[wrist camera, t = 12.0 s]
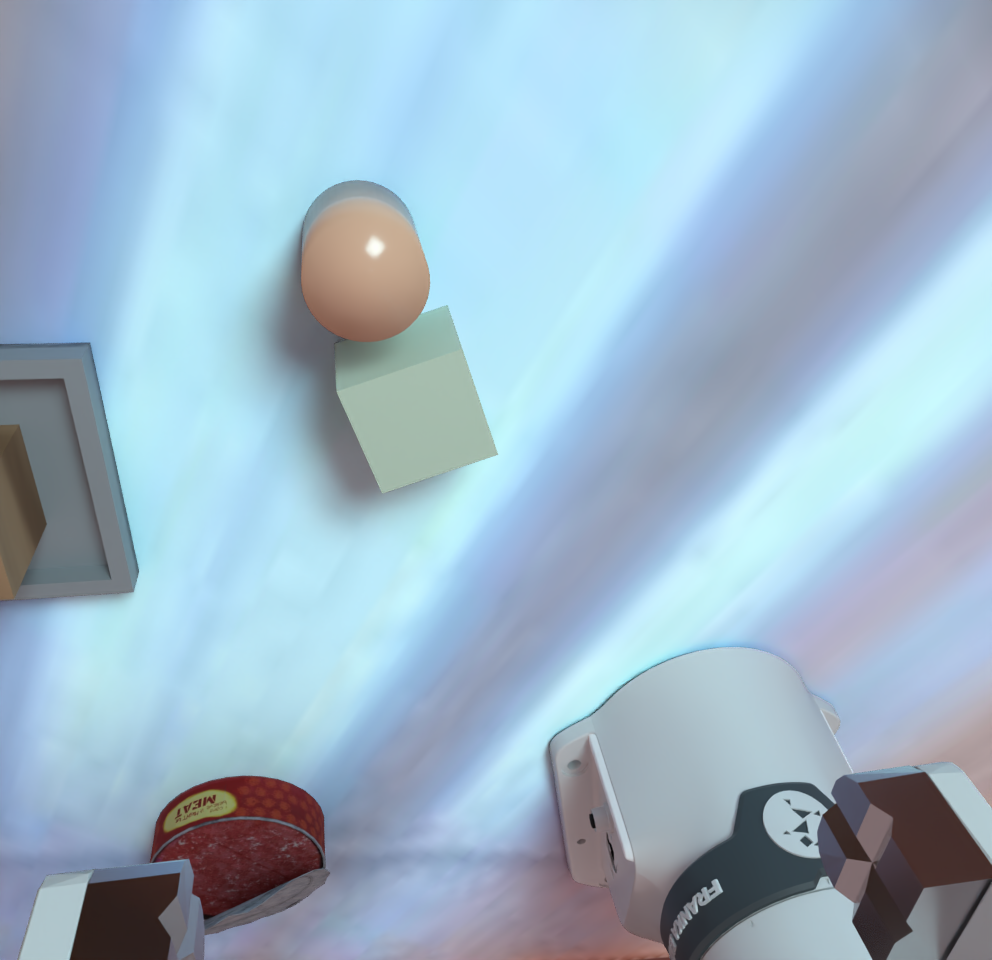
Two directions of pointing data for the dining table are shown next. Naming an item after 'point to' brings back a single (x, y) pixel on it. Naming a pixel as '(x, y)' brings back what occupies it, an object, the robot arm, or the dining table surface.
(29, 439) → the tray
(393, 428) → the green block
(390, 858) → the dining table surface
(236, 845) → the canned food
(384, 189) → the terracotta cylinder
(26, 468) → the walnut block
